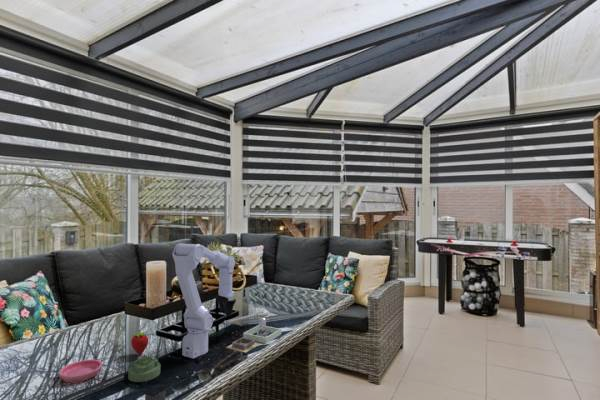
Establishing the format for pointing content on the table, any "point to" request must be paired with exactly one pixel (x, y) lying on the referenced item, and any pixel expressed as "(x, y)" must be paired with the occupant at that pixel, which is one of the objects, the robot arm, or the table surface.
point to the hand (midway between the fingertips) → (225, 313)
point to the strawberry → (139, 342)
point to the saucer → (80, 370)
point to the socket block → (243, 345)
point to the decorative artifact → (144, 369)
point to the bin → (248, 335)
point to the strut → (262, 327)
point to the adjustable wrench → (247, 317)
